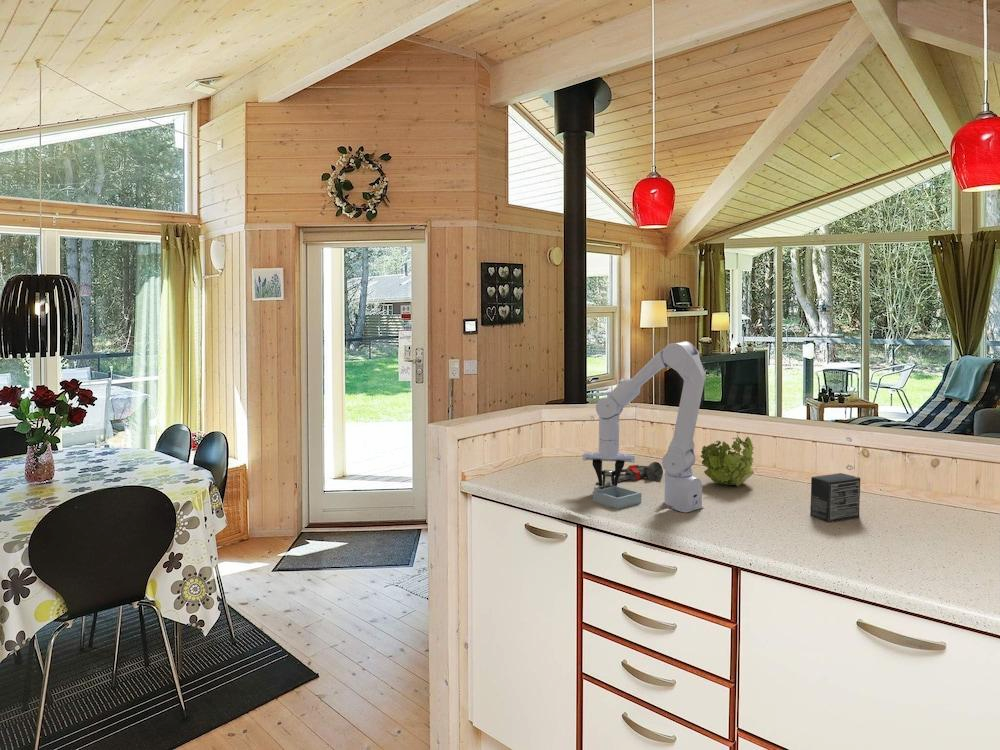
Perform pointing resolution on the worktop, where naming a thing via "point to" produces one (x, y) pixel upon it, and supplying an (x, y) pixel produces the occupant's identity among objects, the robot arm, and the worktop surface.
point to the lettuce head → (728, 462)
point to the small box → (835, 497)
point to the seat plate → (598, 488)
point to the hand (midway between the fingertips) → (608, 486)
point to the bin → (609, 499)
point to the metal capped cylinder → (608, 478)
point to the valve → (641, 473)
